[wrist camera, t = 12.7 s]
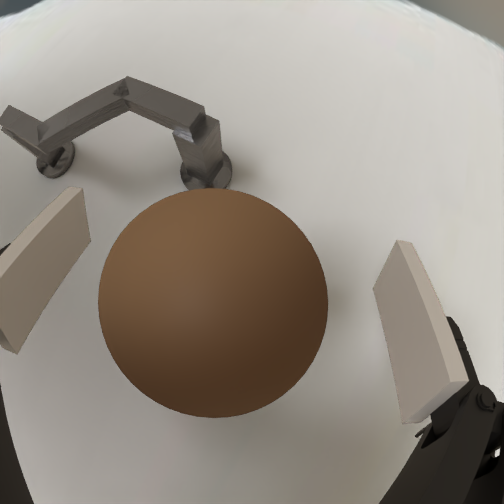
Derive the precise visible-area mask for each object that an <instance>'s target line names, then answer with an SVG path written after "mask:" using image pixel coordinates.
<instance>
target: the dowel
mask: <svg viewBox="0 0 504 504" xmlns="http://www.w3.org/2000/svg"><path fill="white" fill-rule="evenodd" d="M98 307H99V319H100V323H101V328H102V333H103V336H104V339H105V341H106V344H107V347H108V349H109V351H110V353H111V355H112V357H113V359H114V361H115V362H116V364H117V365H118V367H119V368H120V370H121V371H122V372H123V374H124V375H125V376H126V377H127V378H128V379H129V381H130V382H131V383H132V384H133V385H134V386H135V387H137V388H138V389H139V390H140V391H141V392H142V393H143V394H145V395H146V396H148V397H149V398H151V399H152V400H154V401H155V402H157V403H159V404H161V405H163V406H165V407H167V408H169V409H172V410H174V411H177V412H180V413H183V414H188V415H192V416H197V417H208V418H221V417H231V416H237V415H242V414H246V413H249V412H252V411H255V410H258V409H260V408H262V407H264V406H266V405H268V404H270V403H272V402H273V401H275V400H276V399H278V398H279V397H281V396H282V395H284V394H285V393H286V392H287V391H288V390H290V389H291V388H292V387H293V386H294V385H295V384H296V383H297V382H298V381H299V380H300V378H301V377H302V376H303V375H304V374H305V372H306V371H307V369H308V368H309V366H310V365H311V363H312V362H313V360H314V358H315V356H316V354H317V352H318V350H319V348H320V345H321V342H322V339H323V336H324V333H325V328H326V322H327V314H328V296H327V286H326V281H325V277H324V272H323V270H322V267H321V264H320V261H319V259H318V257H317V255H316V253H315V251H314V249H313V247H312V245H311V243H310V242H309V241H308V239H307V238H306V236H305V235H304V233H303V232H302V231H301V230H300V229H299V228H298V226H297V225H296V224H295V223H294V222H293V221H292V220H291V219H290V218H288V217H287V216H286V215H285V214H284V213H283V212H281V211H280V210H278V209H277V208H275V207H274V206H272V205H271V204H269V203H267V202H265V201H263V200H261V199H259V198H257V197H255V196H252V195H249V194H246V193H243V192H239V191H234V190H228V189H217V188H205V189H194V190H189V191H185V192H180V193H177V194H175V195H172V196H169V197H166V198H164V199H162V200H160V201H158V202H157V203H155V204H153V205H151V206H150V207H148V208H147V209H146V210H144V211H143V212H141V213H140V214H139V215H138V216H137V217H136V218H135V219H133V220H132V221H131V222H130V223H129V224H128V226H127V227H126V228H125V229H124V230H123V231H122V233H121V234H120V235H119V237H118V238H117V240H116V242H115V243H114V245H113V246H112V248H111V250H110V253H109V255H108V257H107V259H106V262H105V265H104V268H103V271H102V274H101V280H100V285H99V297H98Z"/></svg>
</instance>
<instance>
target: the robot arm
mask: <svg viewBox="0 0 504 504" xmlns="http://www.w3.org/2000/svg"><path fill="white" fill-rule="evenodd" d="M90 242H91V239H90V234H89V228H88V222H87V216H86V209H85V202H84V195H83V188H75V187H68V188H67V189H66V190H65V191H63V192H62V193H61V194H60V195H59V196H58V197H57V198H56V199H55V200H54V201H53V202H52V203H50V204H49V205H48V206H47V207H46V208H45V209H44V210H43V211H42V212H41V213H40V214H39V215H38V216H37V217H36V218H35V219H34V220H33V221H32V222H31V223H30V224H29V225H28V226H27V227H26V228H25V229H24V230H23V231H22V232H21V234H20V235H19V236H18V237H17V238H16V239H15V240H14V241H13V242H12V243H9V244H8V245H6V246H5V247H4V248H2V249H1V250H0V344H1V346H2V347H3V348H4V349H6V350H8V351H11V352H13V353H15V354H18V352H19V351H20V349H21V347H22V345H23V343H24V342H25V340H26V338H27V336H28V335H29V333H30V331H31V330H32V328H33V326H34V325H35V323H36V321H37V320H38V318H39V316H40V315H41V313H42V311H43V310H44V308H45V307H46V305H47V304H48V302H49V300H50V299H51V297H52V296H53V294H54V293H55V291H56V290H57V288H58V287H59V285H60V284H61V282H62V281H63V279H64V278H65V276H66V275H67V274H68V272H69V271H70V269H71V268H72V266H73V265H74V264H75V262H76V261H77V259H78V258H79V257H80V255H81V254H82V253H83V251H84V250H85V248H86V247H87V246H88V244H89V243H90ZM373 291H374V295H375V298H376V302H377V306H378V310H379V313H380V317H381V321H382V325H383V329H384V333H385V338H386V342H387V346H388V351H389V355H390V360H391V364H392V369H393V374H394V379H395V384H396V389H397V395H398V400H399V406H400V412H401V418H402V424H407V423H420V422H422V421H423V420H424V419H425V418H427V417H428V416H429V415H431V420H432V422H431V423H430V424H429V425H427V426H426V427H425V428H423V429H422V430H420V431H419V432H418V433H417V434H416V435H415V437H419V436H420V435H421V434H423V435H422V437H421V439H420V440H419V442H418V444H417V446H416V447H415V449H414V451H413V453H412V454H411V456H410V458H409V459H408V461H407V463H406V464H405V466H404V467H403V469H402V471H401V472H400V474H399V475H398V477H397V478H396V480H395V481H394V483H393V484H392V486H391V487H390V489H389V490H388V491H387V493H386V494H385V496H384V497H383V499H382V500H381V501H380V503H379V504H504V403H502V402H499V401H497V400H496V397H495V395H494V393H493V392H492V391H491V390H490V389H489V388H488V387H486V386H484V385H480V384H479V381H478V378H477V375H476V372H475V369H474V366H473V363H472V361H471V358H470V355H469V352H468V351H467V347H466V344H465V342H464V341H463V337H462V334H461V332H460V329H459V327H458V326H457V324H456V323H455V322H454V321H453V319H452V318H451V317H446V316H445V313H444V311H443V309H442V306H441V304H440V302H439V299H438V297H437V295H436V292H435V290H434V288H433V286H432V284H431V281H430V279H429V277H428V275H427V273H426V271H425V269H424V266H423V264H422V262H421V260H420V258H419V256H418V254H417V252H416V250H415V248H414V246H413V244H412V243H410V242H405V241H400V240H396V242H395V244H394V246H393V249H392V251H391V253H390V255H389V257H388V259H387V261H386V263H385V265H384V267H383V269H382V271H381V273H380V275H379V277H378V279H377V281H376V283H375V285H374V287H373ZM499 448H500V455H499V456H497V457H495V451H496V450H498V449H499ZM0 504H34V502H33V500H32V497H31V495H30V492H29V490H28V487H27V484H26V482H25V479H24V476H23V473H22V470H21V467H20V464H19V461H18V458H17V455H16V451H15V448H14V444H13V441H12V437H11V433H10V429H9V425H8V421H7V416H6V412H5V407H4V402H3V397H2V391H1V385H0Z"/></svg>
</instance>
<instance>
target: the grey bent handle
mask: <svg viewBox="0 0 504 504" xmlns="http://www.w3.org/2000/svg"><path fill="white" fill-rule="evenodd" d="M127 111H131V112H134V113H136V114H138V115H141V116H143V117H145V118H147V119H150V120H152V121H154V122H156V123H159V124H161V125H163V126H165V127H167V128H169V129H172V130H174V131H173V133H172V134H173V137H174V140H175V142H176V145H177V147H178V150H179V152H180V155H181V157H182V160H183V162H182V165H181V170H180V173H181V178H182V181H183V183H184V185H185V186H186V188H187V189H188V190H194V189H205V188H217V189H225V188H226V187H227V186H228V184H229V182H230V180H231V176H232V166H231V162H230V159H229V158H228V156H227V155H226V154H225V153H224V152H223V151H222V144H221V133H220V123H219V120H216V119H214V118H212V117H210V116H208V115H206V114H205V109H204V106H202V105H200V104H197V103H195V102H193V101H190V100H188V99H185V98H183V97H181V96H178V95H176V94H173V93H171V92H168V91H166V90H163V89H161V88H158V87H155V86H153V85H150V84H148V83H145V82H142V81H139V80H137V79H134V78H131V77H128V76H127V77H126V78H124V79H122V80H120V81H118V82H116V83H113V84H111V85H109V86H107V87H105V88H103V89H101V90H99V91H97V92H95V93H93V94H91V95H89V96H88V97H86V98H84V99H82V100H80V101H78V102H76V103H75V104H73V105H71V106H69V107H68V108H66V109H64V110H62V111H61V112H59V113H57V114H56V115H54V116H52V117H51V118H49V119H48V120H46V121H44V122H41V121H39V120H37V119H35V118H33V117H31V116H29V115H28V114H26V113H24V112H22V111H20V110H18V109H16V108H14V107H12V106H10V105H8V107H7V108H6V110H5V111H4V113H3V114H2V116H1V117H0V125H1V126H3V127H2V129H1V131H3V132H4V133H5V134H7V135H8V136H9V137H11V138H12V139H13V140H15V141H16V142H17V143H18V144H20V145H21V146H22V147H24V148H25V149H26V150H28V151H29V152H30V153H32V154H33V155H34V156H36V157H37V168H38V170H39V172H40V173H41V174H43V175H44V176H46V177H48V178H56V177H59V176H60V175H62V174H63V173H65V172H66V171H67V169H68V168H69V167H70V165H71V163H72V161H73V158H74V153H75V150H74V146H73V144H72V142H71V140H73V139H75V138H76V137H78V136H80V135H82V134H84V133H85V132H87V131H89V130H91V129H93V128H95V127H97V126H99V125H101V124H102V123H104V122H106V121H108V120H110V119H112V118H114V117H117V116H119V115H121V114H123V113H125V112H127Z"/></svg>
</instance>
